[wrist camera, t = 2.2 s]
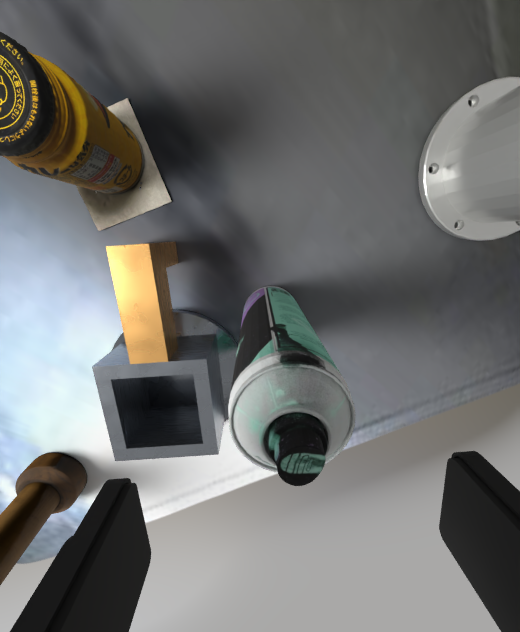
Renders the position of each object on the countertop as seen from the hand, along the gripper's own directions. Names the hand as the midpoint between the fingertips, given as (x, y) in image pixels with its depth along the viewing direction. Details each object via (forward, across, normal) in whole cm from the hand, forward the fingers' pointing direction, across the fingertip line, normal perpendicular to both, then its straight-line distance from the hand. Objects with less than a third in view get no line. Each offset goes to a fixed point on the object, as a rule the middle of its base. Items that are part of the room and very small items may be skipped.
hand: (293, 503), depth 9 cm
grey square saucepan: (+21, +9, +2) cm, 23 cm away
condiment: (+21, +12, -14) cm, 29 cm away
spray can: (+21, -1, 0) cm, 21 cm away
